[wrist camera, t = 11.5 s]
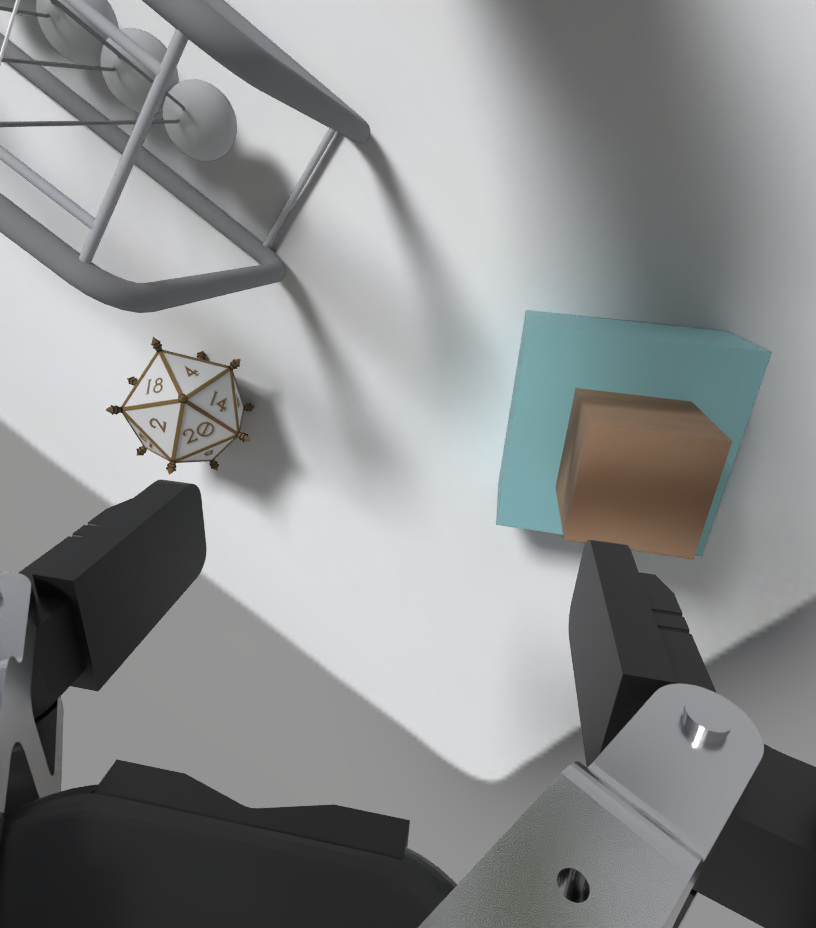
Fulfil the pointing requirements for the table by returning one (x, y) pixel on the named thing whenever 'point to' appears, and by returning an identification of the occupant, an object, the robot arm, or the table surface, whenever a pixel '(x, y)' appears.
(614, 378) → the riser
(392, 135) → the table surface
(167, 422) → the game die
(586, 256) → the table surface
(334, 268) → the table surface
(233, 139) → the newton's cradle
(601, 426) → the walnut cube
